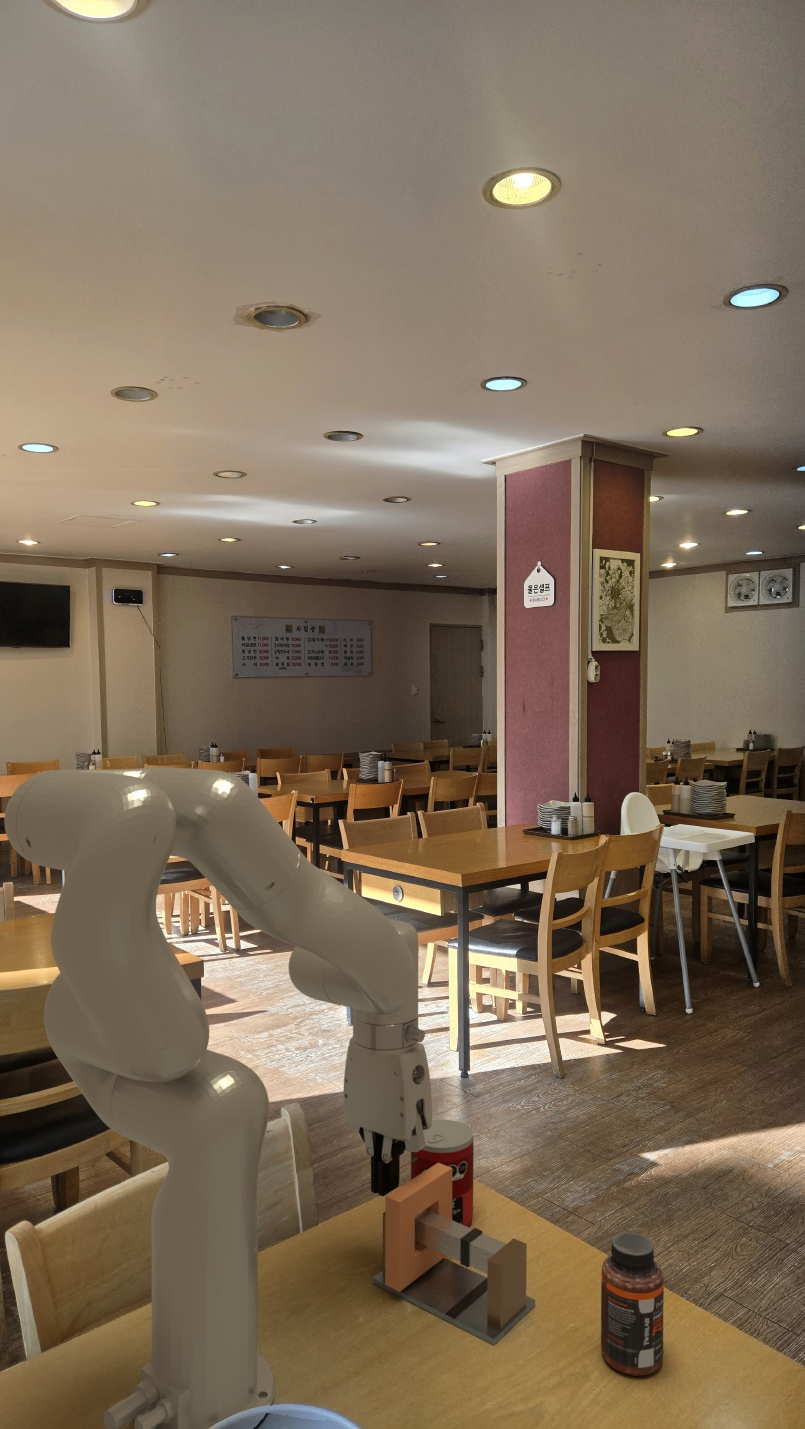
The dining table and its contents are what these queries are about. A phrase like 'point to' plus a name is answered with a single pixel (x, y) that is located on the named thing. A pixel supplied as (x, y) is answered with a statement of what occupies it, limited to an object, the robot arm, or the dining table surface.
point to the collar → (400, 1211)
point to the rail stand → (468, 1278)
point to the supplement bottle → (632, 1306)
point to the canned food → (450, 1162)
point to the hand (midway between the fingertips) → (385, 1189)
